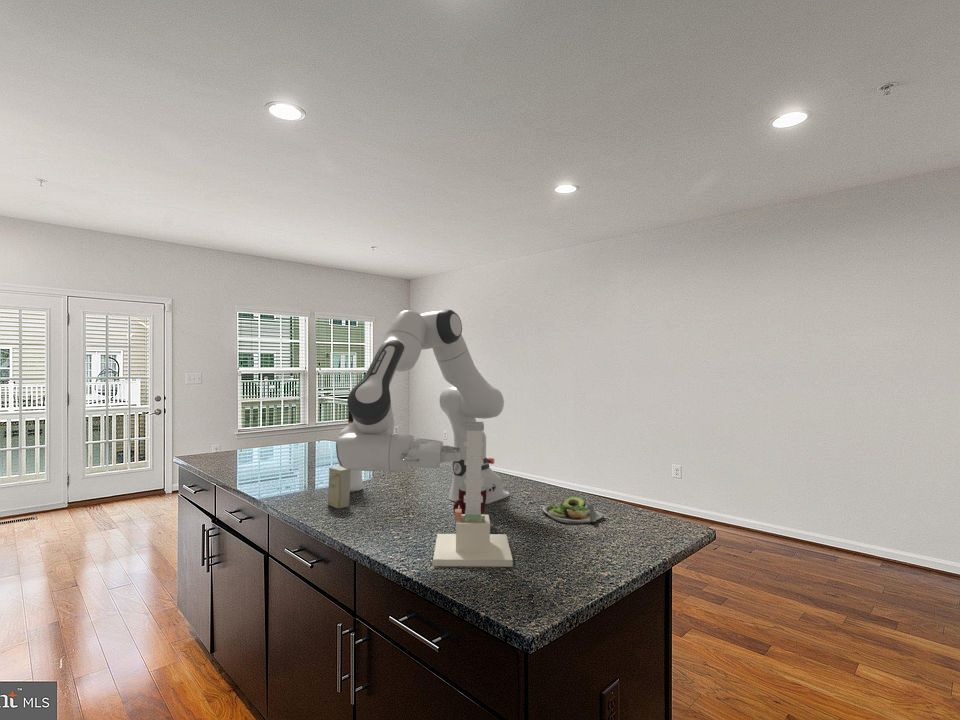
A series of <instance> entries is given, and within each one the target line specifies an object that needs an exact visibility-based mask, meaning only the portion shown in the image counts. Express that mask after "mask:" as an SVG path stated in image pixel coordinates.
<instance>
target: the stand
mask: <svg viewBox="0 0 960 720" xmlns="http://www.w3.org/2000/svg"><path fill="white" fill-rule="evenodd" d="M461 513H462V509H460V508H458V509H455V514H454V521H455V522H456V523H455V533H437V534H436V541H435V545H434V552H433V558H432V567H495V568H496V567H498V568H499V567H504V568H505V567H506V568H507V567H511V568H512V567H514V566H513V565H514V561H513V560H514V559H513V554H512V552H511V548H510V545H509V544H510V543H509V540H508V536H507V534H506V533H505V534H504V533H503V534H501V533H497V534H495V533H491V522H490V516H489V515H490V514H483V515H481V520H480V522H465V514H461Z"/></svg>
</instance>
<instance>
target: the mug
mask: <svg viewBox="0 0 960 720" xmlns="http://www.w3.org/2000/svg"><path fill="white" fill-rule="evenodd" d="M464 495H466V486H462V487H460V488H459V500H457V501H456V502H454V504H453V508H452V509H453V514H454V515H455V509H462V513H461V514H465V510H466V503H464ZM481 496H483V503H481V515H484V512H485V507H486V504H485V503H486V488H485V487H482V486H481Z"/></svg>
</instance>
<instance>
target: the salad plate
mask: <svg viewBox="0 0 960 720" xmlns="http://www.w3.org/2000/svg"><path fill="white" fill-rule="evenodd" d="M541 511H542V513H543V515H545V516H547V517H548V518H551V519H552V520H555V521H556V522H560V523H564V524H569V525H570V524H571V525H573V524H575V525H576V524H577V525H578V524H579V525H580V523H581V524H591V522H592V523H596V522H597V521H599V520H601V519H602V518H603V516H604V515H603V513H602V512H599V511H598V510H595V509H594V506H593V505H592V504H586V500H585V498H583V497H580V496H569V497H566V498H564V499H563V500H562V503H560V504H557V505H556V504H550V505H544V506H543V507H542V509H541Z"/></svg>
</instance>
